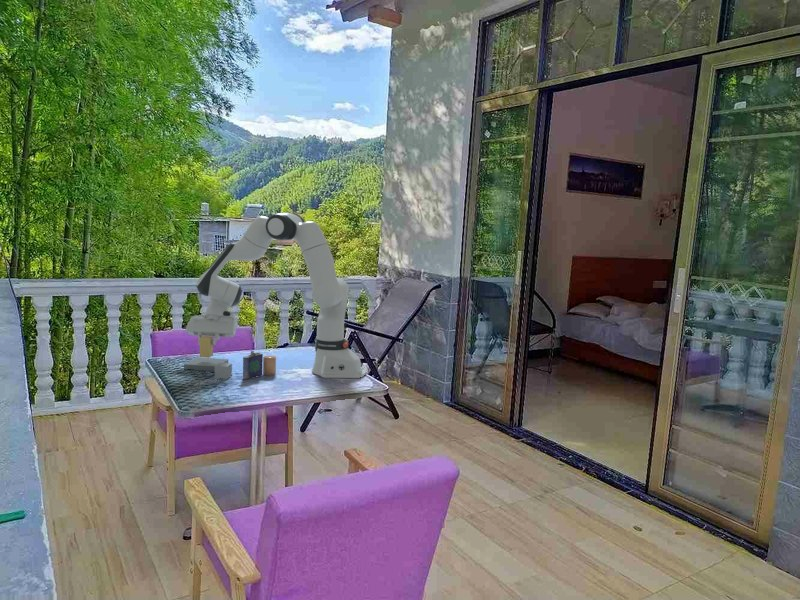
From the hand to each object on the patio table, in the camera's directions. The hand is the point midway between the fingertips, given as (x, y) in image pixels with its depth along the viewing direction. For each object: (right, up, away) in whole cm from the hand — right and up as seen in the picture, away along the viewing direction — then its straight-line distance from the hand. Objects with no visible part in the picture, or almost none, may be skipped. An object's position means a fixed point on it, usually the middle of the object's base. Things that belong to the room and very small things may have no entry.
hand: (206, 343), depth 229 cm
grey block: (+11, -12, -12) cm, 20 cm away
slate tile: (0, -10, +2) cm, 10 cm away
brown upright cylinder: (+27, -12, -5) cm, 30 cm away
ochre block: (0, -5, +1) cm, 5 cm away
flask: (+22, -13, -10) cm, 27 cm away
